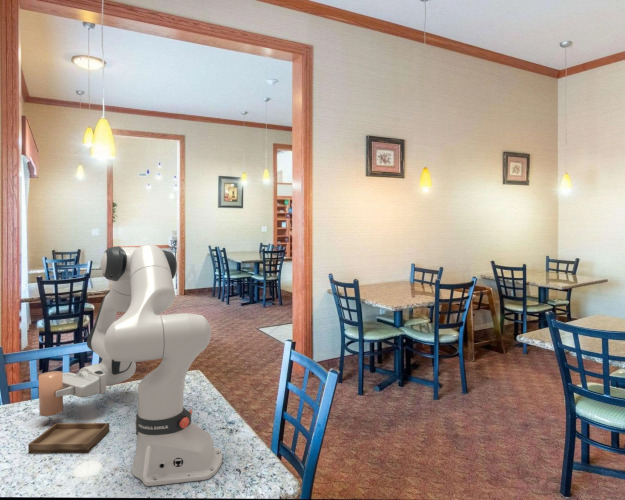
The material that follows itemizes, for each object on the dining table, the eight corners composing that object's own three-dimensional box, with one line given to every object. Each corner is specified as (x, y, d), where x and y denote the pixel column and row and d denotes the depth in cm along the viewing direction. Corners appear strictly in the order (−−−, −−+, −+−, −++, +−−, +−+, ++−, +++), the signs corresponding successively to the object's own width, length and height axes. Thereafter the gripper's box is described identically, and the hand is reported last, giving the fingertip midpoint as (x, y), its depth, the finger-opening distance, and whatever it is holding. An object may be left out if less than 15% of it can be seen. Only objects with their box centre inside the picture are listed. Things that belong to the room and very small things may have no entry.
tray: (109, 431, 130) (109, 423, 130) (88, 453, 117) (87, 444, 117) (55, 431, 130) (55, 423, 130) (28, 453, 117) (28, 444, 117)
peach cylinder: (67, 407, 139) (66, 370, 139) (56, 416, 133) (55, 377, 132) (47, 408, 139) (46, 371, 139) (34, 416, 133) (33, 377, 132)
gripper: (71, 365, 152) (29, 376, 140) (108, 374, 142) (66, 387, 130) (72, 383, 152) (30, 396, 140) (108, 393, 142) (67, 408, 130)
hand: (48, 391), depth 135 cm, fingers closed on peach cylinder, 6 cm apart
